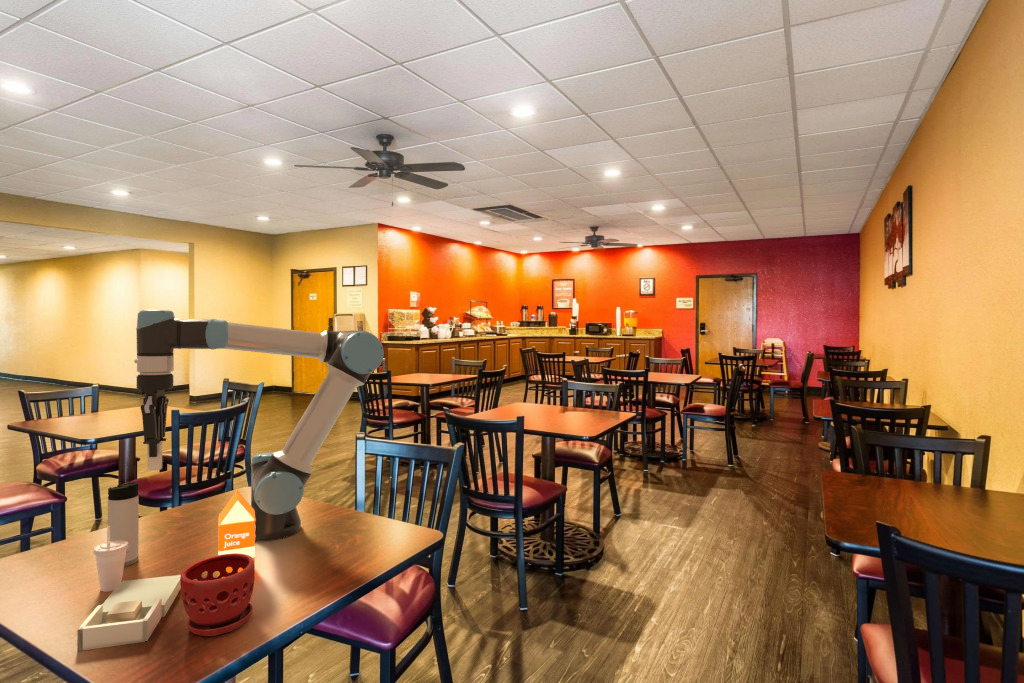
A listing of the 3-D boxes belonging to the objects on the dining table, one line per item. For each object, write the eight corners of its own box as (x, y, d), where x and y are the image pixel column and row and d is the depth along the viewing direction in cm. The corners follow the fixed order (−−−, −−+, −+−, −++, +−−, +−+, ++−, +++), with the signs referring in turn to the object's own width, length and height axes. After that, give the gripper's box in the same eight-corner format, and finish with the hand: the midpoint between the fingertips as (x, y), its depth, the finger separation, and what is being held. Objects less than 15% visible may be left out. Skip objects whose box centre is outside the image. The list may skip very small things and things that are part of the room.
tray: (161, 617, 111) (161, 597, 111) (147, 641, 102) (147, 620, 102) (97, 625, 107) (98, 605, 107) (77, 651, 99) (77, 629, 99)
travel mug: (123, 569, 131) (123, 488, 131) (101, 566, 133) (101, 486, 132) (145, 559, 138) (146, 481, 137) (124, 556, 139) (124, 479, 138)
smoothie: (105, 581, 125) (105, 521, 125) (134, 580, 126) (134, 521, 126) (86, 595, 119) (86, 532, 119) (116, 594, 120) (117, 531, 119)
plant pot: (233, 601, 118) (233, 546, 117) (267, 620, 110) (267, 562, 110) (167, 627, 107) (168, 568, 107) (200, 651, 100) (200, 587, 99)
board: (182, 585, 124) (182, 574, 124) (164, 616, 111) (164, 604, 111) (121, 592, 120) (121, 581, 120) (95, 625, 107) (95, 613, 107)
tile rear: (142, 609, 109) (142, 599, 109) (134, 621, 104) (134, 611, 104) (115, 612, 107) (115, 603, 107) (106, 624, 103) (106, 614, 103)
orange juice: (217, 589, 123) (218, 502, 122) (218, 573, 131) (218, 491, 130) (255, 582, 126) (256, 497, 126) (254, 567, 134) (254, 487, 134)
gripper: (146, 371, 137) (145, 463, 137) (127, 375, 124) (127, 477, 125) (180, 370, 139) (179, 461, 140) (164, 375, 127) (164, 475, 127)
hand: (154, 469), depth 132 cm, fingers closed
